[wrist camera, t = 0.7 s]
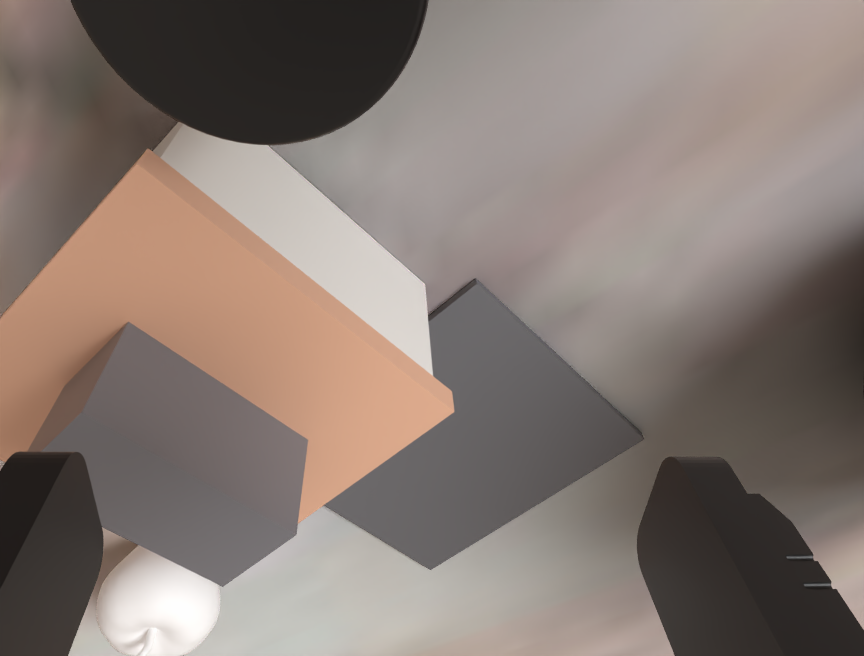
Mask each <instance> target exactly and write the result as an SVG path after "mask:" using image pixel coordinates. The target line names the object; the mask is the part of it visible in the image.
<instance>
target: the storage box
mask: <svg viewBox="0 0 864 656" xmlns="http://www.w3.org/2000/svg"><path fill="white" fill-rule="evenodd" d="M152 152H154V153H155V154H156V155H157V156H159V157H160V158H161V159H162V160H164V161H165V162H166V163H167V164H169V165H170V166H171V167H172V168H174V169H175V170H176V171H177V172H179V173H180V174H181V175H182V176H184V177H185V178H186V179H187V180H189V181H190V182H191V183H192V184H194V185H195V186H196V187H197V188H199V189H200V190H201V191H202V192H204V193H205V194H206V195H207V196H209V197H210V198H211V199H212V200H214V201H215V202H216V203H217V204H219V205H220V206H221V207H222V208H224V209H225V210H226V211H227V212H229V213H230V214H231V215H232V216H234V217H235V218H236V219H237V220H239V221H240V222H241V223H242V224H244V225H245V226H246V227H247V228H249V229H250V230H251V231H252V232H254V233H255V234H256V235H257V236H259V237H260V238H261V239H262V240H264V241H265V242H266V243H267V244H269V245H270V246H271V247H272V248H274V249H275V250H276V251H277V252H279V253H280V254H281V255H282V256H284V257H285V258H286V259H287V260H289V261H290V262H291V263H292V264H294V265H295V266H296V267H297V268H299V269H300V270H301V271H302V272H304V273H305V274H306V275H307V276H309V277H310V278H311V279H312V280H314V281H315V282H316V283H317V284H319V285H320V286H321V287H322V288H324V289H325V290H326V291H327V292H329V293H330V294H331V295H332V296H334V297H335V298H336V299H337V300H339V301H340V302H341V303H342V304H344V305H345V306H346V307H347V308H349V309H350V310H351V311H352V312H354V313H355V314H356V315H357V316H359V317H360V318H361V319H362V320H364V321H365V322H366V323H367V324H369V325H370V326H371V327H372V328H374V329H375V330H376V331H377V332H379V333H380V334H381V335H382V336H384V337H385V338H386V339H387V340H389V341H390V342H391V343H392V344H394V345H395V346H396V347H397V348H399V349H400V350H401V351H402V352H404V353H405V354H406V355H407V356H409V357H410V358H411V359H412V360H414V361H415V362H416V363H417V364H419V365H420V366H421V367H422V368H424V369H425V370H426V371H427V372H429V373H430V374H431V375H432V376H433V370H432V358H431V347H430V335H429V324H428V312H427V301H426V289H425V284H424V283H423V282H422V281H421V280H420V279H418V278H417V277H416V276H415V275H414V274H413V273H412V272H411V271H409V270H408V269H407V268H406V267H405V266H404V265H403V264H401V263H400V262H399V261H398V260H397V259H396V258H395V257H394V256H392V255H391V254H390V253H389V252H388V251H387V250H386V249H384V248H383V247H382V246H381V245H380V244H379V243H378V242H377V241H375V240H374V239H373V238H372V237H371V236H370V235H369V234H367V233H366V232H365V231H364V230H363V229H362V228H361V227H360V226H358V225H357V224H356V223H355V222H354V221H353V220H352V219H350V218H349V217H348V216H347V215H346V214H345V213H344V212H343V211H341V210H340V209H339V208H338V207H337V206H336V205H335V204H333V203H332V202H331V201H330V200H329V199H328V198H327V197H326V196H324V195H323V194H322V193H321V192H320V191H319V190H318V189H316V188H315V187H314V186H313V185H312V184H311V183H310V182H309V181H307V180H306V179H305V178H304V177H303V176H302V175H301V174H299V173H298V172H297V171H296V170H295V169H294V168H293V167H292V166H290V165H289V164H288V163H287V162H286V161H285V160H284V159H282V158H281V157H280V156H279V155H278V154H277V153H276V152H275V151H273V150H272V149H271V148H270V147H269V146H268V145H253V144H245V143H238V142H233V141H229V140H224V139H221V138H217V137H214V136H211V135H208V134H205V133H203V132H200V131H198V130H195V129H193V128H190V127H188V126H186V125H185V124H183V123H181V122H178V123H177V124H176V125H175V126H174V128H173V129H172V130H171V131H170V132H169V133H168V134H167V136H166V137H165V138H164V139H163V140H162V141H161V142H160V144H159V145H158V146H157V147H156V148H155V149H154V150H153V151H152Z"/></svg>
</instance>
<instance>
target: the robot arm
mask: <svg viewBox="0 0 864 656" xmlns="http://www.w3.org/2000/svg"><path fill="white" fill-rule="evenodd" d="M637 553H638V560H639V565H640V569H641V572H642V574H643V577H644V580H645V582H646V585H647V587H648V590H649V592H650V595H651V597H652V600H653V602H654V605H655V607H656V610H657V612H658V615H659V617H660V620H661V622H662V625H663V627H664V630H665V632H666V635H667V637H668V640H669V642H670V645H671V647H672V650H673V652H674V655H675V656H864V630H863V629H862V627H861V626H860V624H859V623H858V621H857V620H856V618H855V617H854V615H853V614H852V612H851V611H850V609H849V608H848V606H847V604H846V603H845V601H844V600H843V598H842V597H841V595H840V594H839V592H838V591H837V589H832V587H831V580H830V579H829V577H828V576H827V574H826V573H825V571H824V570H823V568H822V567H821V565H820V564H819V562H818V561H814V560H813V553H812V552H811V550H810V549H809V547H808V546H807V544H806V543H805V541H804V540H803V538H802V537H801V535H800V534H799V532H798V531H797V529H796V528H795V526H794V525H793V523H792V522H791V521H790V520H789V519H788V518H787V517H785V516H784V515H783V514H782V513H781V512H780V511H778V510H777V509H776V508H775V507H774V506H773V505H772V504H770V503H769V502H768V501H767V500H766V499H765V498H763V497H762V496H761V495H760V494H747V493H746V491H745V489H744V488H743V486H742V485H741V483H740V481H739V480H738V478H737V476H736V475H735V473H734V472H733V470H732V468H731V467H730V466H729V464H728V463H727V462H726V461H725V460H724V459H722V458H719V457H668V458H666V459H665V460H664V461H663V462H662V464H661V466H660V469H659V472H658V474H657V477H656V480H655V483H654V486H653V489H652V492H651V495H650V497H649V500H648V503H647V506H646V509H645V512H644V515H643V518H642V520H641V523H640V526H639V530H638V536H637ZM102 556H103V531H102V526H101V522H100V518H99V514H98V510H97V506H96V502H95V498H94V494H93V489H92V485H91V481H90V477H89V473H88V469H87V465H86V462H85V459H84V457H83V455H82V454H81V453H79V452H22V451H19V452H15V453H14V454H12V455H11V456H10V457H9V458H8V460H7V461H6V463H5V464H4V466H3V467H2V469H1V471H0V656H68V654H69V651H70V649H71V646H72V643H73V641H74V638H75V636H76V633H77V630H78V628H79V625H80V623H81V620H82V617H83V615H84V612H85V609H86V607H87V604H88V602H89V599H90V596H91V594H92V591H93V589H94V586H95V583H96V581H97V578H98V575H99V571H100V567H101V562H102Z"/></svg>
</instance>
